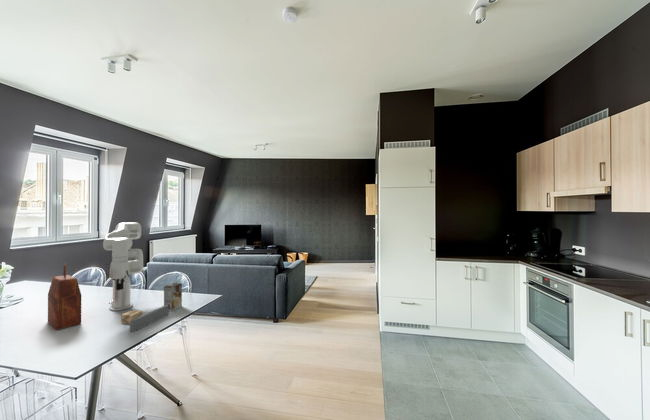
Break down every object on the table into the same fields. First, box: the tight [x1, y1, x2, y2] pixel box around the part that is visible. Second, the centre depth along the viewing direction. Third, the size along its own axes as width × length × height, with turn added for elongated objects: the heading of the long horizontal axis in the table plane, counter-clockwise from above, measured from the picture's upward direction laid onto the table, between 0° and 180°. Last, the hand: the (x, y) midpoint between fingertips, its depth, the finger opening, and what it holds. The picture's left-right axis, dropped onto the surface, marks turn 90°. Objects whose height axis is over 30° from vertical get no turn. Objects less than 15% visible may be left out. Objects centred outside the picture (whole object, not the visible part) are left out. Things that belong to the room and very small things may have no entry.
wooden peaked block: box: [47, 263, 82, 331], centre depth 151 cm, size 10×19×35 cm, turn 56°
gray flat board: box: [129, 304, 169, 333], centre depth 153 cm, size 2×24×6 cm, turn 169°
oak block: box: [120, 309, 143, 325], centre depth 155 cm, size 7×7×5 cm
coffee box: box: [163, 282, 183, 312], centre depth 175 cm, size 9×6×16 cm
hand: (119, 289), depth 157 cm, fingers closed
